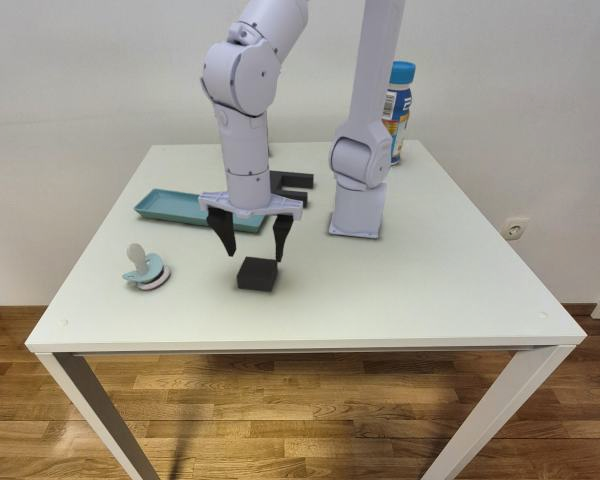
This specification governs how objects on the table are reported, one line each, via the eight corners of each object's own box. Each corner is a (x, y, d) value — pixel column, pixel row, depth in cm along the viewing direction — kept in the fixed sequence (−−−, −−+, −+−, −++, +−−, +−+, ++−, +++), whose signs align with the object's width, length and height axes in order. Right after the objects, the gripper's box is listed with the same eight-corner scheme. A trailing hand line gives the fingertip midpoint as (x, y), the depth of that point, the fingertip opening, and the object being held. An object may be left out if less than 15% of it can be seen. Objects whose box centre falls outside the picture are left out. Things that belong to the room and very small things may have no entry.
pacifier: (178, 271, 60) (150, 261, 61) (169, 239, 55) (138, 230, 56) (151, 297, 56) (121, 286, 57) (139, 265, 51) (106, 254, 52)
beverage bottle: (361, 155, 93) (374, 60, 77) (390, 152, 94) (408, 58, 79) (375, 168, 88) (392, 69, 72) (405, 164, 89) (427, 67, 74)
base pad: (313, 184, 81) (313, 173, 80) (306, 207, 74) (306, 196, 72) (255, 179, 83) (254, 168, 81) (243, 201, 76) (241, 190, 74)
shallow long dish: (271, 212, 73) (271, 201, 71) (259, 236, 67) (258, 224, 65) (157, 198, 76) (154, 187, 74) (136, 220, 70) (131, 208, 69)
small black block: (277, 271, 60) (277, 259, 58) (270, 292, 56) (269, 280, 54) (247, 268, 60) (245, 256, 59) (238, 288, 57) (236, 276, 55)
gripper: (181, 174, 43) (203, 265, 53) (296, 185, 41) (296, 276, 51) (201, 152, 47) (218, 240, 57) (306, 161, 46) (304, 249, 56)
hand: (255, 255), depth 55 cm, fingers open, 7 cm apart
